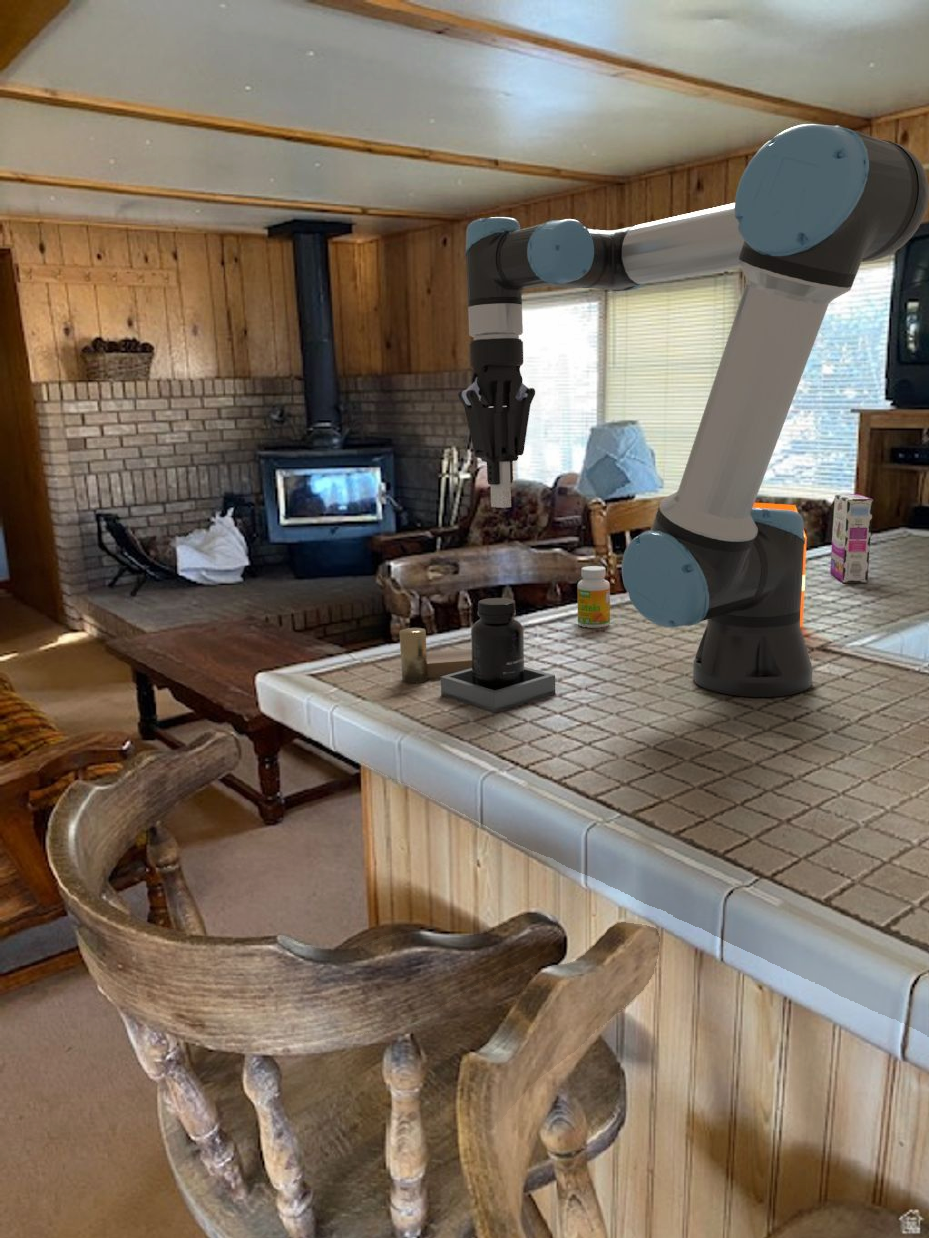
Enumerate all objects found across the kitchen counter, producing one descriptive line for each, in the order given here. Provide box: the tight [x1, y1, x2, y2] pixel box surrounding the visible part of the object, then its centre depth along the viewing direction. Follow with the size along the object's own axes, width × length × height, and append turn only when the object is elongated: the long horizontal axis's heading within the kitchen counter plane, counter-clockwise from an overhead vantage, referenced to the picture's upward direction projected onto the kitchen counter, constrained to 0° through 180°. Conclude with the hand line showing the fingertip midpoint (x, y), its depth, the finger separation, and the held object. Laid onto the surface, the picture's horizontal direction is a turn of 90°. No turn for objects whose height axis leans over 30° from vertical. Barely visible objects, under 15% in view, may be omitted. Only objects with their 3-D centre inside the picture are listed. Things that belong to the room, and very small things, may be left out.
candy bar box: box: [829, 493, 874, 584], centre depth 187 cm, size 11×5×16 cm, turn 172°
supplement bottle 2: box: [576, 565, 611, 629], centre depth 159 cm, size 5×5×10 cm
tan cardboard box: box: [427, 648, 472, 679], centre depth 136 cm, size 6×9×2 cm, turn 98°
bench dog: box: [399, 627, 429, 684], centre depth 132 cm, size 4×4×7 cm
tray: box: [440, 666, 556, 713], centre depth 124 cm, size 11×11×2 cm
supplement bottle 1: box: [470, 597, 525, 690], centre depth 123 cm, size 7×7×12 cm
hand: (501, 506), depth 138 cm, fingers closed
